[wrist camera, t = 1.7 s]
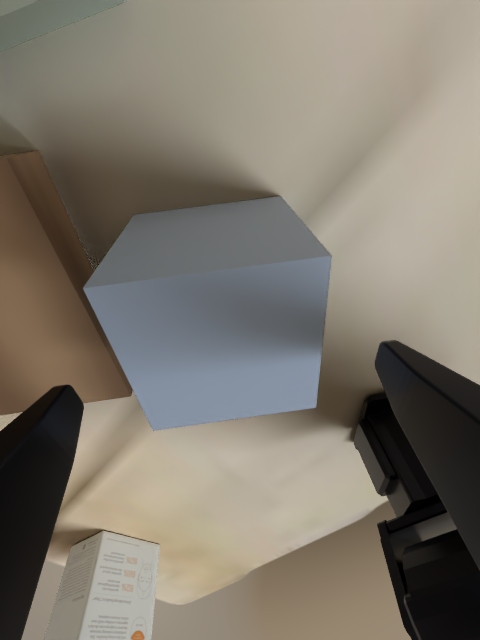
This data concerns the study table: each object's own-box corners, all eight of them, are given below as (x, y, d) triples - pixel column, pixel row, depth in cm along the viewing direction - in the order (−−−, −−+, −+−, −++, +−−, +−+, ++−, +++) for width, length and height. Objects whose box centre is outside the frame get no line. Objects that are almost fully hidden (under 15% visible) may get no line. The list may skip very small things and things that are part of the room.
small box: (70, 544, 31) (19, 707, 23) (103, 528, 29) (62, 697, 21) (130, 557, 35) (105, 698, 27) (162, 543, 33) (147, 690, 25)
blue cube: (280, 195, 12) (331, 255, 7) (281, 313, 15) (316, 407, 10) (134, 214, 12) (82, 288, 7) (170, 328, 15) (153, 430, 10)
